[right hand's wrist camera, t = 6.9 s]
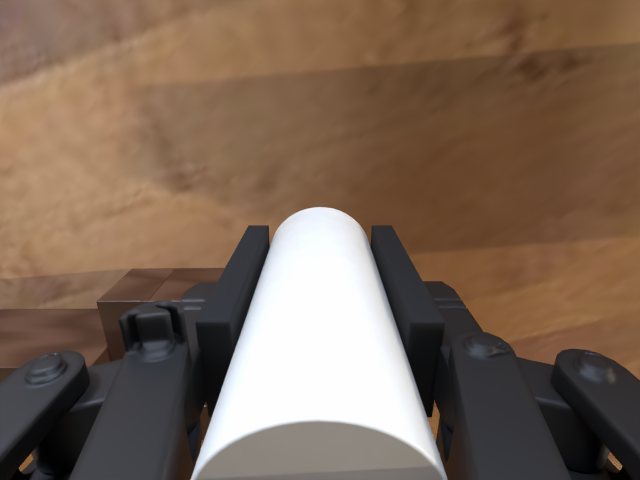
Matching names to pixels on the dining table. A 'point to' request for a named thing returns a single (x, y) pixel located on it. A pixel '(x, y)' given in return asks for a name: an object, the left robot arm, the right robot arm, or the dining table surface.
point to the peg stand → (93, 321)
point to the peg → (319, 370)
